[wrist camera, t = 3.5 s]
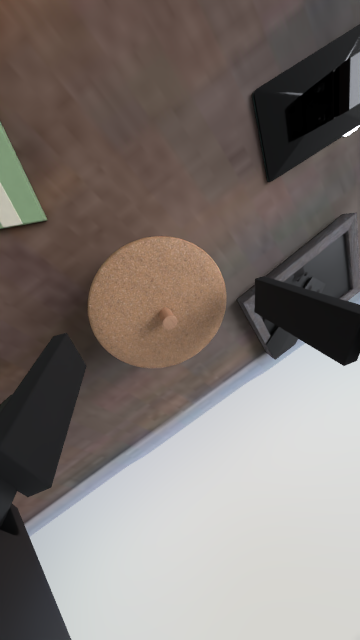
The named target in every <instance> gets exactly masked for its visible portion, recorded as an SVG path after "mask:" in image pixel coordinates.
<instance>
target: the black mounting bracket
mask: <svg viewBox="0 0 360 640" xmlns="http://www.w3.org/2000/svg"><path fill="white" fill-rule="evenodd" d="M252 99H253V104H254V110H255V115H256V121H257V126H258V132H259V137H260V143H261V148H262V154H263V159H264V165H265V171H266V176H267V181H268V182H271V181H273V180H274V179H276V178H277V177H279V176H281V175H282V174H284V173H285V172H287V171H288V170H290V169H292V168H293V167H295V166H296V165H298V164H299V163H301V162H303V161H304V160H306V159H307V158H309V157H310V156H312V155H314V154H315V153H317V152H318V151H320V150H321V149H323V148H325V147H326V146H328V145H329V144H331V143H332V142H334V141H336V140H337V139H339V138H340V137H342V136H343V137H346V136H347V135H349V134H351V133H352V132H354V131H355V130H357V129H358V127H359V126H360V25H358V26H356V27H355V28H353V29H352V30H350V31H349V32H347V33H345V34H344V35H342V36H341V37H339V38H337V39H336V40H334V41H333V42H331V43H329V44H328V45H326V46H325V47H323V48H321V49H320V50H318V51H317V52H315V53H313V54H312V55H310V56H309V57H307V58H305V59H304V60H302V61H301V62H299V63H297V64H296V65H294V66H293V67H291V68H290V69H288V70H286V71H285V72H283V73H282V74H280V75H278V76H277V77H275V78H274V79H272V80H270V81H269V82H267V83H266V84H264V85H262V86H261V87H259V88H258V89H256V90H255V91H254V92H253V94H252Z"/></svg>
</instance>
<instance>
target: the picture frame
mask: <svg viewBox="0 0 360 640" xmlns="http://www.w3.org/2000/svg"><path fill="white" fill-rule="evenodd" d="M265 277H268V278H272V279H275V280H278V281H282V282H285V283H288V284H292V285H295V286H298V287H302V288H305V289H308V290H312V291H315V292H318V293H322V294H325V295H328V296H332V297H335V298H338V299H342V300H345V301H348V300H349V299H350V298H352V297H353V296H354V295H356V294H357V293H358V292H360V268H359V249H358V231H357V213H349V214H342V215H341V216H340V217H339V218H338V219H336V220H335V221H334V222H333V223H331V224H330V225H329V226H328V227H326V228H325V229H324V230H323V231H321V232H320V233H319V234H318V235H316V236H315V237H314V238H313V239H311V240H310V241H309V242H308V243H306V244H305V245H304V246H303V247H301V248H300V249H299V250H298V251H296V252H295V253H294V254H293V255H292V256H290V257H289V258H288V259H287V260H285V261H284V262H283V263H282V264H280V265H279V266H278V267H277V268H275V269H274V270H273V271H272V272H270V273H269V274H268V275H267V276H265ZM237 301H238V303H239V305H240V306H241V308H242V310H243V312H244V313H245V315H246V317H247V319H248V321H249V322H250V324H251V326H252V328H253V329H254V331H255V333H256V335H257V337H258V338H259V340H260V342H261V344H262V346H263V347H264V349H265V351H266V353H267V354H269V355H270V356H271V357H272V358H274V359H277V358H278V357H279V356H281V355H282V354H283V353H284V352H286V351H287V350H288V349H290V348H291V347H292V346H294V345H295V344H296V342H297V340H298V338H297V337H295V336H293V335H292V334H290V333H288V332H287V331H285V330H283V329H282V328H280V327H278V326H277V325H275V324H273V323H272V322H270V321H268V320H267V319H265V318H263V317H262V316H260V315H258V314H257V313H255V312H254V307H255V285H254V286H253V287H252V288H250V289H249V290H248V291H247V292H246V293H244V294H243V295H242V296H241V297H239V298H238V299H237Z"/></svg>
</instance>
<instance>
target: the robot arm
mask: <svg viewBox="0 0 360 640" xmlns="http://www.w3.org/2000/svg"><path fill="white" fill-rule="evenodd" d="M254 312H255V313H257V314H258V315H260V316H262V317H263V318H265V319H267V320H268V321H270V322H272V323H273V324H275V325H277V326H278V327H280V328H282V329H283V330H285V331H287V332H288V333H290V334H292V335H293V336H295V337H297V338H298V339H300V340H302V341H303V342H305V343H307V344H308V345H310V346H312V347H313V348H315V349H317V350H318V351H320V352H322V353H323V354H325V355H327V356H328V357H330V358H332V359H334V360H335V361H337V362H338V363H340V364H342V365H343V366H345V365H347V364H350V363H352V362H355V361H357V359H358V356H359V354H360V305H359V304H355V303H352V302H349V301H345V300H342V299H338V298H335V297H332V296H328V295H325V294H322V293H318V292H315V291H312V290H308V289H305V288H302V287H298V286H295V285H292V284H288V283H285V282H282V281H278V280H275V279H272V278H268V277H265V276H264V277H260V278H257V279H255V307H254ZM85 369H86V364H85V363H84V361H83V359H82V358H81V356H80V354H79V353H78V351H77V349H76V348H75V346H74V344H73V343H72V341H71V339H70V338H69V336H68V334H67V333H64V334H60V335H57V336H53V338H52V339H51V340H50V342H49V343H48V345H47V346H46V348H45V349H44V350H43V352H42V353H41V355H40V356H39V358H38V359H37V360H36V362H35V363H34V365H33V366H32V368H31V369H30V370H29V372H28V373H27V375H26V376H25V378H24V379H23V381H22V382H21V383H20V385H19V386H18V388H17V389H16V391H15V392H14V393H13V395H10V396H9V397H8V398H7V399H6V400H5V401H4V402H3V403H2V404H1V405H0V640H71V638H70V636H69V633H68V631H67V628H66V626H65V623H64V621H63V618H62V616H61V614H60V611H59V609H58V606H57V604H56V601H55V599H54V596H53V594H52V592H51V589H50V587H49V584H48V582H47V580H46V577H45V574H44V572H43V570H42V567H41V565H40V562H39V560H38V557H37V555H36V552H35V550H34V548H33V545H32V543H31V540H30V538H29V535H28V533H27V530H26V528H25V526H24V523H23V521H22V518H21V516H20V513H19V511H18V508H16V507H15V506H14V505H13V504H12V501H13V499H14V497H15V494H16V492H17V491H19V492H20V493H22V494H23V495H25V496H27V497H29V496H32V495H34V494H37V493H39V492H41V491H44V490H46V489H49V488H51V486H52V483H53V479H54V476H55V472H56V469H57V465H58V462H59V459H60V455H61V452H62V448H63V445H64V441H65V438H66V434H67V431H68V428H69V424H70V421H71V417H72V414H73V410H74V407H75V403H76V400H77V397H78V393H79V390H80V386H81V383H82V379H83V376H84V372H85Z"/></svg>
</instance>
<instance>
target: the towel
mask: <svg viewBox="0 0 360 640" xmlns="http://www.w3.org/2000/svg"><path fill="white" fill-rule="evenodd" d="M42 221H47V218H46V216H45V214H44V212H43V210H42V207H41V205H40V203H39V201H38V199H37V197H36V195H35V193H34V191H33V189H32V187H31V185H30V182H29V180H28V178H27V176H26V174H25V172H24V170H23V168H22V166H21V164H20V162H19V160H18V157H17V155H16V153H15V151H14V149H13V147H12V145H11V143H10V141H9V139H8V137H7V135H6V132H5V130H4V128H3V126H2V124H1V122H0V229H4V228H9V227H15V226H20V225H25V224H31V223H36V222H42Z"/></svg>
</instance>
